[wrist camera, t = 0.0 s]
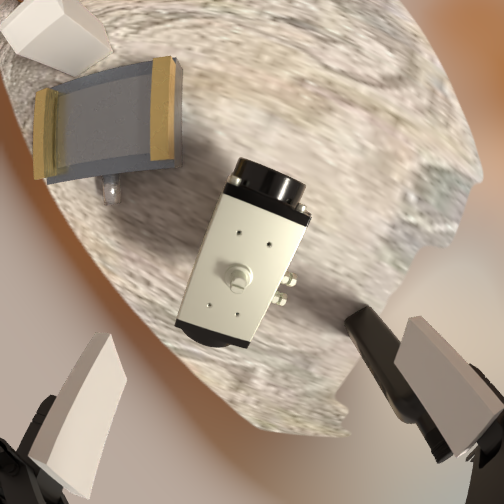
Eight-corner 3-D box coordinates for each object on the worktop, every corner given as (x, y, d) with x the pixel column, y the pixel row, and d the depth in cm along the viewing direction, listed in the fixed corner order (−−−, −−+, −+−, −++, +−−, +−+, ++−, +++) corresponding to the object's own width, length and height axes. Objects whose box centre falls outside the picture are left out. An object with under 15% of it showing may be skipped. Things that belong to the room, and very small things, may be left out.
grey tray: (66, 94, 28) (36, 85, 21) (182, 69, 29) (171, 48, 22) (67, 206, 34) (38, 218, 26) (183, 196, 35) (170, 205, 28)
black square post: (351, 340, 46) (426, 474, 17) (342, 319, 44) (428, 465, 16) (377, 325, 45) (465, 447, 17) (369, 303, 43) (472, 433, 15)
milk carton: (113, 52, 27) (45, 0, 9) (75, 78, 28) (-5, 47, 10) (103, 24, 25) (44, -30, 7) (67, 48, 25) (-4, 12, 7)
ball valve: (243, 294, 41) (252, 379, 24) (189, 275, 39) (165, 354, 22) (293, 182, 36) (345, 202, 19) (235, 157, 34) (239, 154, 18)
